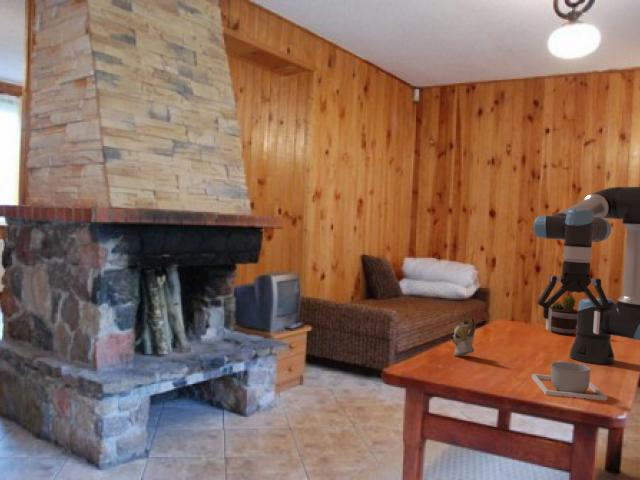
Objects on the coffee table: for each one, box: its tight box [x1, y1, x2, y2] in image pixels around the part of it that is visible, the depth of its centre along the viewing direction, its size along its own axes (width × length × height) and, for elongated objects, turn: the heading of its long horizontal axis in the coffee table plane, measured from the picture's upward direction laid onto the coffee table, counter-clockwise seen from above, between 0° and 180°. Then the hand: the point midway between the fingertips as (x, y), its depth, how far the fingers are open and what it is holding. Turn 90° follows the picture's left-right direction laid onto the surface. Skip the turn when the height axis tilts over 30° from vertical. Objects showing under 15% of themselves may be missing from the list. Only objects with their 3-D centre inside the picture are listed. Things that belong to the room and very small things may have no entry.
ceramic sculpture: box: [450, 313, 476, 357], centre depth 206 cm, size 11×9×15 cm
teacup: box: [550, 360, 591, 394], centre depth 169 cm, size 14×11×8 cm
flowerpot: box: [549, 293, 578, 336], centre depth 265 cm, size 14×15×20 cm
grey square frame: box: [531, 373, 608, 401], centre depth 170 cm, size 17×19×2 cm
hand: (571, 331), depth 169 cm, fingers open, 13 cm apart
